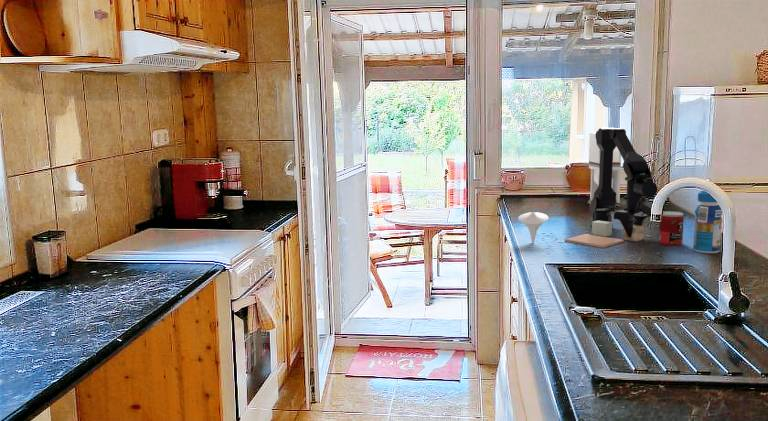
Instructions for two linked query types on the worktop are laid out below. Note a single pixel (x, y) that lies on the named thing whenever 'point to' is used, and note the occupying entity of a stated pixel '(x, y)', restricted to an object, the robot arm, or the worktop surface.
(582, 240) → the terracotta tile
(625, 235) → the beech block
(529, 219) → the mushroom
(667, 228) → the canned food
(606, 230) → the sage block
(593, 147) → the tall white pillar
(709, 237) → the beverage bottle
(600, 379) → the worktop surface
